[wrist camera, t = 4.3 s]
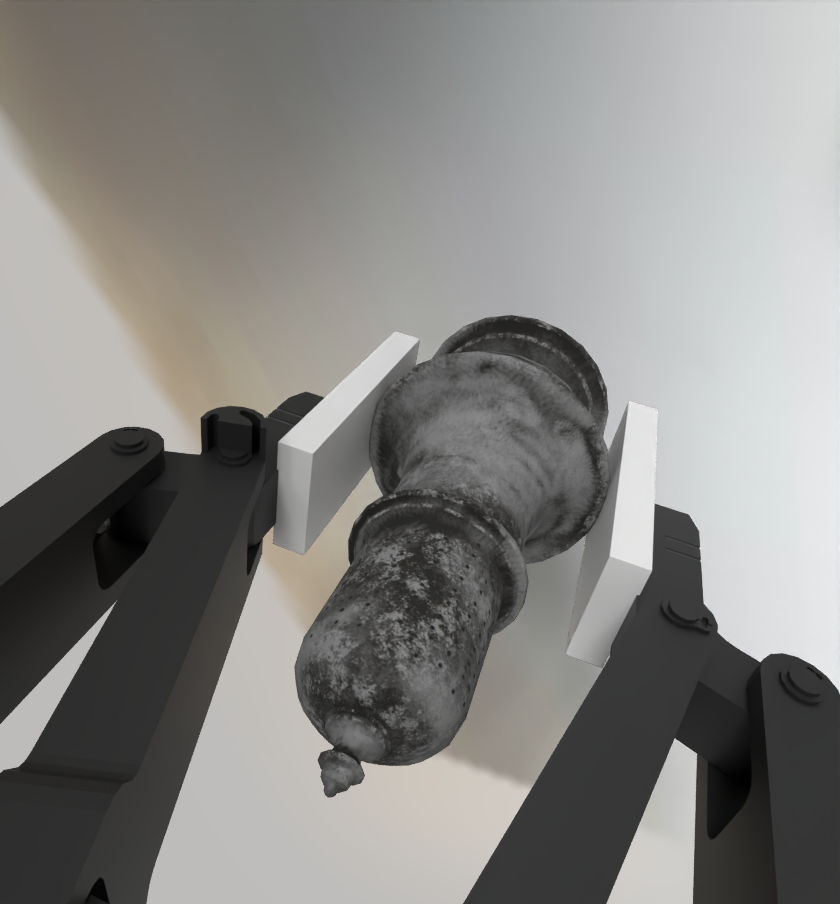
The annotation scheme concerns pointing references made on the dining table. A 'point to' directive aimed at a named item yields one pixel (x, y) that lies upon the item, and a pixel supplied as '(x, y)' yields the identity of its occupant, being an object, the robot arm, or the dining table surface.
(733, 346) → the dining table surface
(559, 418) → the dark grey tall piece
